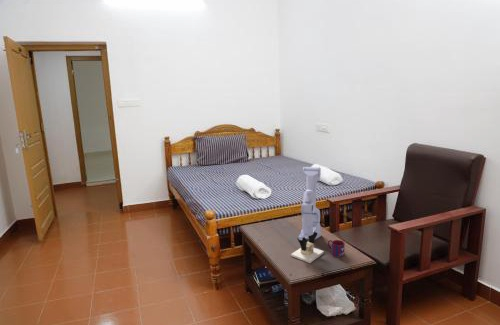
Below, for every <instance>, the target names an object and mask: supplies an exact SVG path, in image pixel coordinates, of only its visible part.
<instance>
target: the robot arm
mask: <svg viewBox="0 0 500 325" xmlns="http://www.w3.org/2000/svg"><path fill="white" fill-rule="evenodd" d="M321 171H322V170H321V167H320V166H318V167H317V166H314V167H313V166H312V167H311V166H303V168H302V177H303V179H304V180H306V181H305V182H306V184H305V185H306V190H305V191H304V192H303V198H302V200H303V201H302V203H301V206H300V207H301V208H300V212H301V217H302V218H301V220H302V223H301V226H302V229H301V230H300V234H299V235H298V236H297V241H298V243H299V246H300V248H301V249H302V250H303V251H306V245H307V242H310V243H313V244H315V241H316V240H317V239H319V238H320V237H321V236H322V234H321V227H322V226H321V223H320V222H321V211H320V209H319V208H317V206H316V203H317V202H316V201H317V200H316V198H317V190H316V189H317V182H318V181H320V180H321Z"/></svg>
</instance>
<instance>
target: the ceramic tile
mask: <svg viewBox="0 0 500 325" xmlns="http://www.w3.org/2000/svg"><path fill="white" fill-rule="evenodd" d="M324 253H325V251H324V250H321V249H320V248H316V247H314V251H313V253H311V254H310V255H309V256H308V255H305V254H303V253H301V247H300V248H298V249H296V250H295V251H294V252H291V253H290V256H291V257H292V258H295V259H297V260H301V261H303V262H306V263H308V264H311V263H312V262H314V261H315V260H316V259H319V257H320V256H322V255H323V254H324Z"/></svg>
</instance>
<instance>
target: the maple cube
mask: <svg viewBox="0 0 500 325" xmlns="http://www.w3.org/2000/svg"><path fill="white" fill-rule="evenodd" d="M314 244H315V243H314ZM314 244H313V243H310V242H309V241H308V242H307V245H306V251H303V250H302V249H301V253H303V254H305V255H308V256H309V255H310V254H311V253H313V251H314V248H315V247H314V246H315V245H314Z"/></svg>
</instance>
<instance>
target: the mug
mask: <svg viewBox="0 0 500 325" xmlns="http://www.w3.org/2000/svg"><path fill="white" fill-rule="evenodd" d="M330 242H331V244H330ZM345 245H346V244H345V242H344V241H343V240H341V239H335V240H331V239H330V240H328V242H327V246H328V248H329V249H330V250H331V255H332V256H333V257H334V258H342V257H344V256H345Z"/></svg>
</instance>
